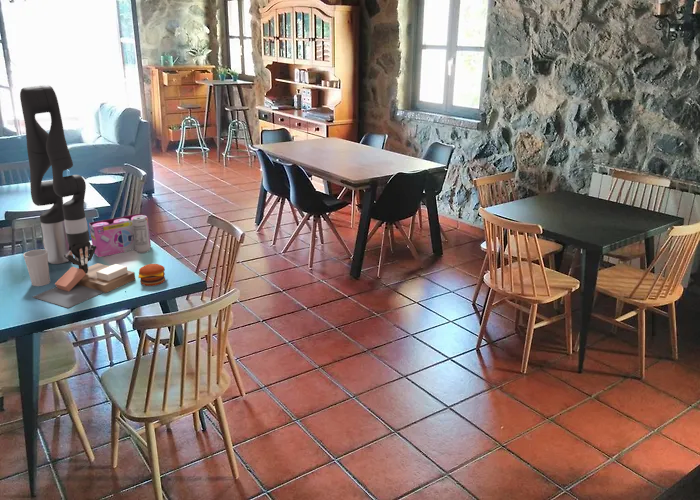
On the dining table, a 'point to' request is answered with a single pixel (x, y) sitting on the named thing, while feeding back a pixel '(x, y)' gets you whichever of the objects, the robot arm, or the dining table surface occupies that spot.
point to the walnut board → (104, 285)
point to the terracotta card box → (70, 279)
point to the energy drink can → (141, 234)
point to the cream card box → (111, 272)
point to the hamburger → (152, 274)
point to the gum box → (114, 235)
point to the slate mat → (68, 295)
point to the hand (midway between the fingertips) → (84, 273)
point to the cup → (37, 266)
